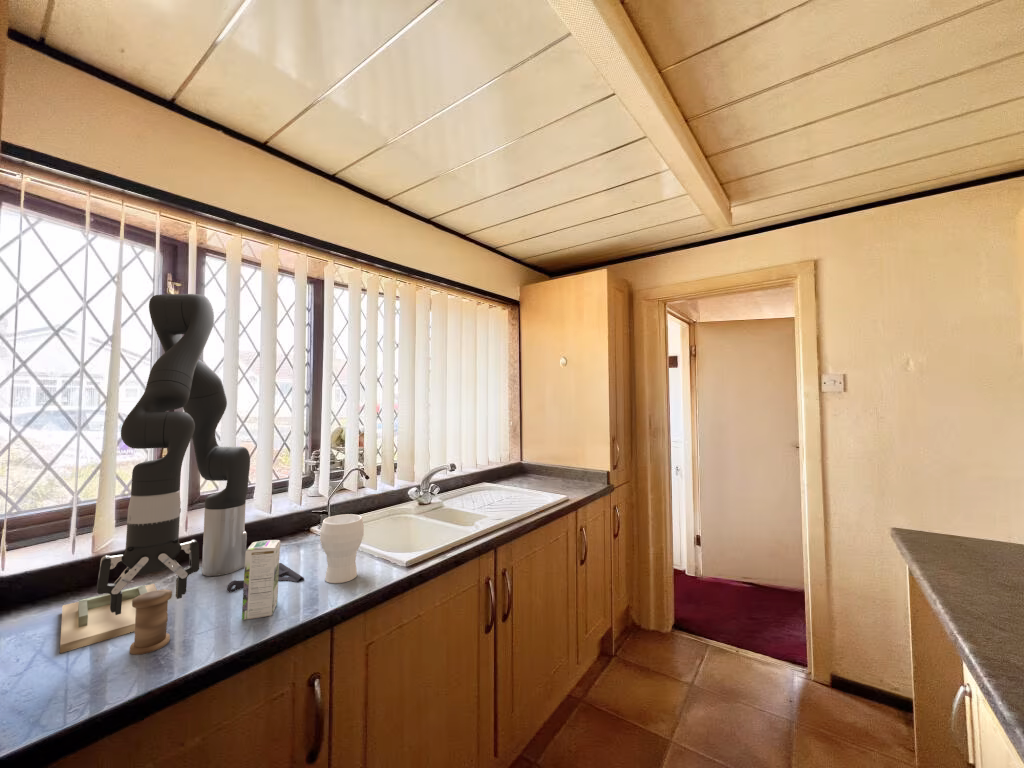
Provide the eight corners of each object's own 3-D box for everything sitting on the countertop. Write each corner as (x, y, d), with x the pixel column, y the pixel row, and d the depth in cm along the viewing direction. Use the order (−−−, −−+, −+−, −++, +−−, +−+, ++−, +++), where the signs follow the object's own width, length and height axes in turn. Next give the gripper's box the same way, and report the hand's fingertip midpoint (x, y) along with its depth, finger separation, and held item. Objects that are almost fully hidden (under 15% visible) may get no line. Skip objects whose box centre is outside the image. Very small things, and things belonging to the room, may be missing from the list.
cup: (309, 582, 103) (310, 522, 104) (338, 567, 114) (340, 512, 114) (344, 588, 100) (345, 526, 101) (371, 571, 110) (372, 515, 111)
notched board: (153, 589, 99) (154, 575, 99) (167, 621, 85) (168, 604, 85) (62, 612, 88) (63, 596, 88) (59, 653, 74) (60, 633, 74)
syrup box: (248, 608, 91) (250, 541, 91) (278, 603, 93) (280, 538, 93) (241, 621, 85) (243, 550, 86) (273, 616, 87) (275, 546, 88)
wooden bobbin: (167, 633, 80) (169, 586, 81) (171, 645, 77) (174, 595, 77) (128, 645, 76) (130, 596, 77) (131, 658, 72) (133, 606, 73)
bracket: (218, 585, 103) (219, 574, 103) (282, 567, 114) (282, 557, 114) (237, 604, 94) (237, 592, 94) (304, 583, 105) (304, 572, 105)
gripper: (197, 507, 85) (193, 587, 84) (100, 520, 75) (94, 611, 74) (204, 513, 80) (200, 598, 79) (102, 528, 70) (95, 627, 69)
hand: (149, 605), depth 76 cm, fingers open, 8 cm apart
